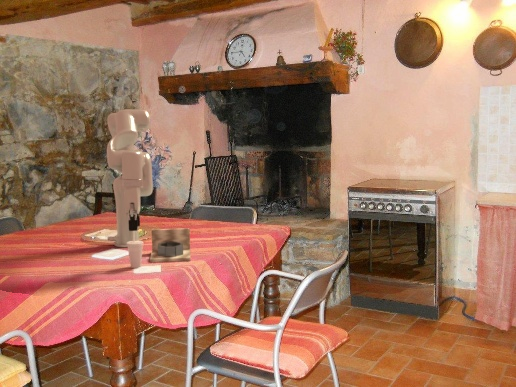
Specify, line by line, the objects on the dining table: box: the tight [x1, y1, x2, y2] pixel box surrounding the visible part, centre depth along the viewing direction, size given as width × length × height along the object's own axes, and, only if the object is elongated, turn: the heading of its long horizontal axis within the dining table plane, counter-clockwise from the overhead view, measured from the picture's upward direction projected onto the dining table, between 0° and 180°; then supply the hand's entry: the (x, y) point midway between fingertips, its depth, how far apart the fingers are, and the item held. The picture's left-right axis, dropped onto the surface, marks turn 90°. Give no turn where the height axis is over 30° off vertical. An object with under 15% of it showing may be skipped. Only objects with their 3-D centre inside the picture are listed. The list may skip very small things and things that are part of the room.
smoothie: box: [127, 231, 145, 269], centre depth 200 cm, size 6×6×14 cm
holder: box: [149, 227, 191, 263], centre depth 216 cm, size 16×16×10 cm
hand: (134, 228), depth 199 cm, fingers open, 9 cm apart
